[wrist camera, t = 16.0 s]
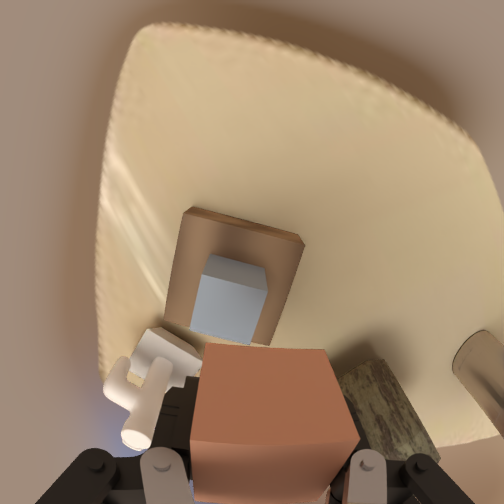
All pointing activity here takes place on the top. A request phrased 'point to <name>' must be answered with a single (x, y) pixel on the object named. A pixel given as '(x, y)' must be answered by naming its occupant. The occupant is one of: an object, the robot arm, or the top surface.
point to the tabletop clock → (386, 412)
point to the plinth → (236, 248)
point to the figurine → (149, 381)
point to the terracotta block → (267, 426)
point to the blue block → (229, 299)
